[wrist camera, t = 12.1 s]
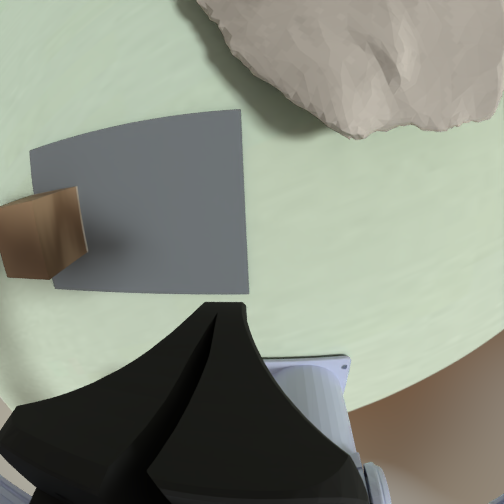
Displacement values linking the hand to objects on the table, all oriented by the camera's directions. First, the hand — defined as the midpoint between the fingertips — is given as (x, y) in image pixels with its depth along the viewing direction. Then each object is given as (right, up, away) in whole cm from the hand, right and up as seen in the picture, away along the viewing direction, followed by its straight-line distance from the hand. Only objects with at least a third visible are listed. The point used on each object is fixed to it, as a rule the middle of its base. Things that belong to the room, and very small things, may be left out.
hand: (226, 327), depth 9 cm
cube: (-14, +3, +5) cm, 15 cm away
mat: (-8, +5, +9) cm, 13 cm away
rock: (+12, +22, +2) cm, 25 cm away
